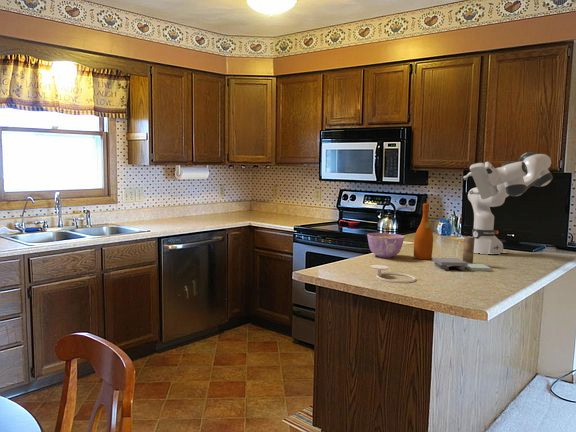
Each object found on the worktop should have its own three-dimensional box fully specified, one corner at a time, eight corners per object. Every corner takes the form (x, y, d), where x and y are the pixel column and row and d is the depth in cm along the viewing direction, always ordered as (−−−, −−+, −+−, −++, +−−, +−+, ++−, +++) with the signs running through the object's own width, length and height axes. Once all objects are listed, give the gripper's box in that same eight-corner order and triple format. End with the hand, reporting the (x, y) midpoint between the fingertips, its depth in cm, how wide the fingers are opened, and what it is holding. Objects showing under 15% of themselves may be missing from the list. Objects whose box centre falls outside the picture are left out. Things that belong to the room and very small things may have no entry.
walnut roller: (467, 263, 258) (469, 236, 257) (474, 265, 254) (476, 238, 252) (460, 263, 256) (462, 237, 255) (467, 265, 252) (469, 238, 250)
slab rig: (456, 265, 250) (457, 257, 250) (467, 271, 237) (468, 263, 237) (431, 265, 249) (432, 257, 249) (441, 270, 236) (441, 262, 236)
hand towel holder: (408, 275, 203) (362, 268, 215) (407, 286, 204) (362, 278, 215) (422, 269, 217) (378, 262, 229) (421, 278, 218) (378, 271, 229)
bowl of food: (393, 261, 255) (394, 239, 253) (359, 256, 267) (360, 234, 265) (409, 256, 271) (410, 235, 269) (376, 251, 283) (377, 231, 281)
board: (482, 266, 249) (482, 264, 249) (491, 271, 239) (491, 268, 239) (462, 266, 249) (463, 263, 249) (471, 270, 239) (471, 267, 239)
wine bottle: (411, 258, 265) (414, 203, 262) (415, 256, 274) (419, 202, 271) (429, 260, 260) (433, 204, 257) (433, 258, 269) (437, 203, 266)
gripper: (499, 191, 264) (473, 198, 270) (486, 158, 257) (460, 167, 263) (500, 196, 258) (473, 204, 265) (487, 163, 251) (460, 172, 258)
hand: (466, 185), depth 264 cm, fingers open, 8 cm apart
